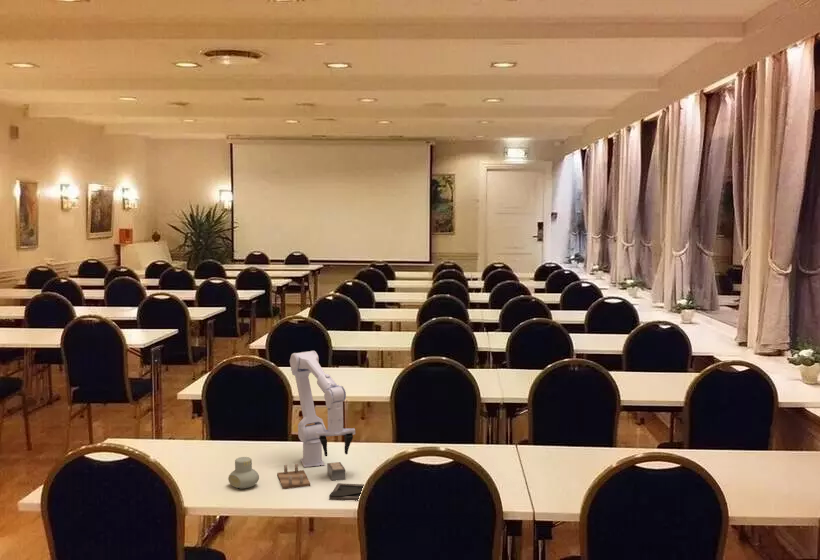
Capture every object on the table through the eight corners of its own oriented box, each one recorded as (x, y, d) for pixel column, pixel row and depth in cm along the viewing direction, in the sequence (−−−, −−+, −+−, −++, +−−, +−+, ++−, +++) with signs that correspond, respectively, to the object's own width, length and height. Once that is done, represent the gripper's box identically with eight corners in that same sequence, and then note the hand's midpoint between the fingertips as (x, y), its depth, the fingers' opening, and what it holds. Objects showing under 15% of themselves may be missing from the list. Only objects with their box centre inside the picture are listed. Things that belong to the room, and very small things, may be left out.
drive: (327, 473, 302) (327, 462, 301) (340, 472, 303) (340, 461, 303) (332, 481, 293) (331, 470, 293) (345, 480, 294) (345, 469, 294)
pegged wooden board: (277, 475, 299) (277, 465, 299) (303, 472, 302) (303, 462, 302) (282, 489, 285) (282, 478, 284) (310, 486, 288) (310, 475, 287)
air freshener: (225, 485, 289) (224, 458, 288) (243, 479, 295) (243, 453, 294) (243, 492, 282) (243, 465, 281) (262, 486, 288) (261, 459, 287)
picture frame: (329, 501, 275) (380, 503, 272) (329, 495, 274) (380, 497, 272) (337, 487, 288) (386, 489, 285) (337, 482, 288) (386, 484, 285)
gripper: (317, 423, 290) (318, 459, 291) (356, 420, 294) (357, 455, 295) (314, 418, 297) (315, 454, 298) (352, 415, 301) (353, 450, 302)
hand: (336, 454), depth 297 cm, fingers open, 7 cm apart
